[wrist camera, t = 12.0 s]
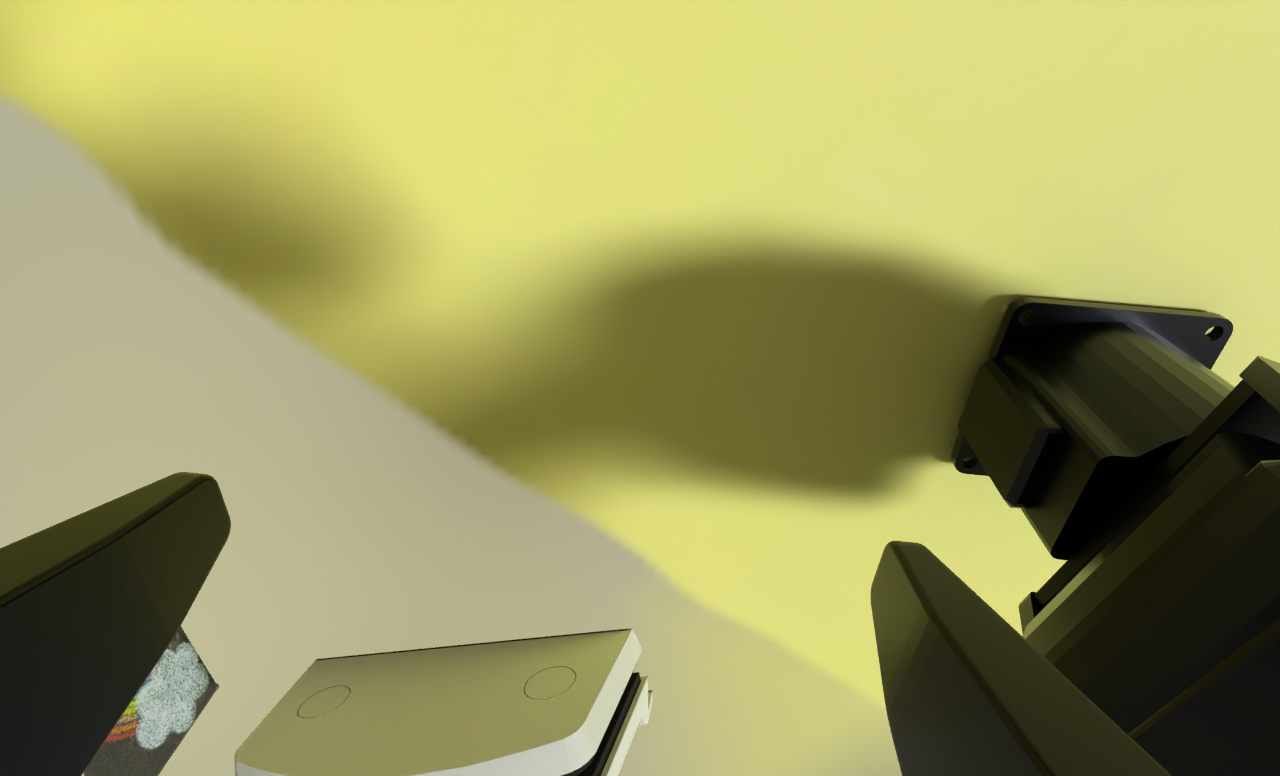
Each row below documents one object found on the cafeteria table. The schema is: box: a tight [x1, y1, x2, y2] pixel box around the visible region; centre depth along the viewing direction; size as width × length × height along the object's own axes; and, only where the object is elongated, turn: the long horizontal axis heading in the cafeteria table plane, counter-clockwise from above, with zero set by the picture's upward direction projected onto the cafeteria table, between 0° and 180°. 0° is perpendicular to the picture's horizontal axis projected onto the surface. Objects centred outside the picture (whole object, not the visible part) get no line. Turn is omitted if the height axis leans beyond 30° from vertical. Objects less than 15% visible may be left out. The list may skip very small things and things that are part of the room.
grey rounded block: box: [235, 628, 653, 776], centre depth 28 cm, size 17×5×10 cm, turn 103°
